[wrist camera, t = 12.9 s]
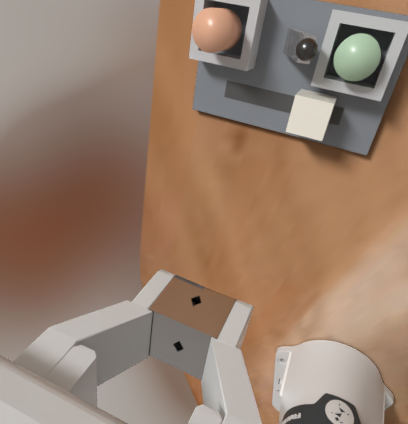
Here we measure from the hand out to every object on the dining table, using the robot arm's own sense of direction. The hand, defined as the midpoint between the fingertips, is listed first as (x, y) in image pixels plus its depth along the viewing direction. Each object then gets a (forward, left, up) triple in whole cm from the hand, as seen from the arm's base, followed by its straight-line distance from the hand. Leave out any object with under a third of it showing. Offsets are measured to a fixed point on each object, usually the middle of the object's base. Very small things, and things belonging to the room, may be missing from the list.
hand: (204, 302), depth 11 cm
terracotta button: (+4, +12, -33) cm, 36 cm away
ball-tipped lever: (+5, +5, -35) cm, 36 cm away
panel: (+2, +5, -37) cm, 37 cm away
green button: (+4, -2, -35) cm, 35 cm away
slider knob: (-2, +1, -36) cm, 36 cm away
